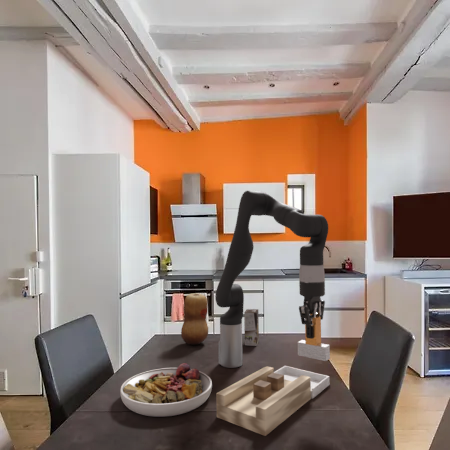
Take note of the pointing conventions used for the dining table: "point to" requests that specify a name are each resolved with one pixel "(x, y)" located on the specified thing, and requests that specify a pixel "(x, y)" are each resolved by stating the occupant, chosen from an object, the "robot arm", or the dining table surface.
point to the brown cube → (276, 381)
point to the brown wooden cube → (262, 390)
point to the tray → (317, 380)
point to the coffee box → (251, 327)
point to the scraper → (314, 344)
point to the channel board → (261, 402)
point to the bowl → (166, 391)
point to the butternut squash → (195, 319)
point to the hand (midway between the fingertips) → (312, 336)
